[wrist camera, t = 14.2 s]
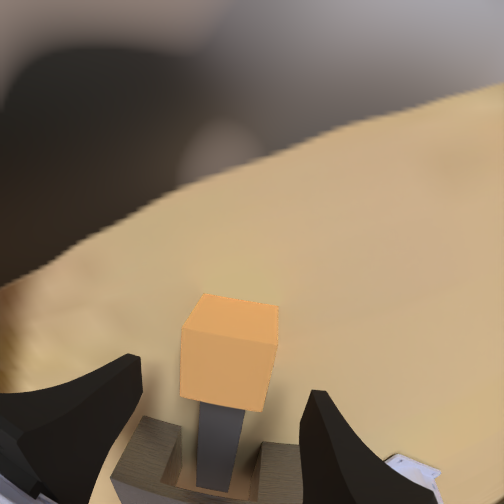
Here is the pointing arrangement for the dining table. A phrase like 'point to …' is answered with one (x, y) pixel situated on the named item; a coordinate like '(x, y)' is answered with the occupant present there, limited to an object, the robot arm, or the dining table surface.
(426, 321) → the dining table surface
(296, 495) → the housing
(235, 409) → the plug
